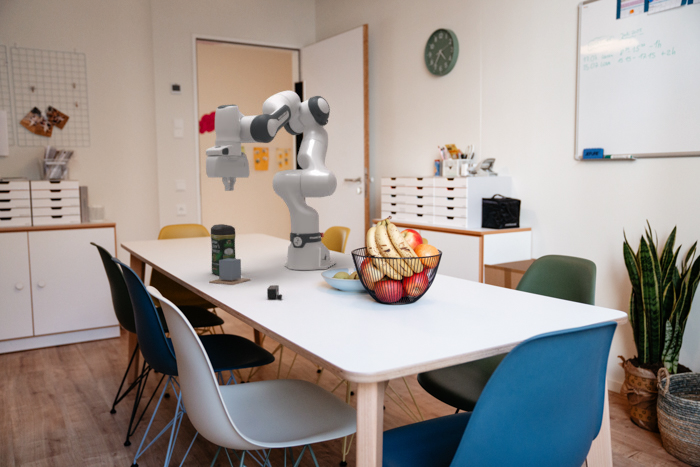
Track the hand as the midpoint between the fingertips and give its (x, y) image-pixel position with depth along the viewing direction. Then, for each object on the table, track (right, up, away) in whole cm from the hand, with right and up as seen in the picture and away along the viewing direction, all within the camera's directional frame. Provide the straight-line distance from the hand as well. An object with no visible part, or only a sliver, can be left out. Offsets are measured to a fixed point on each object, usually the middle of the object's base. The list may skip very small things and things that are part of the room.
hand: (229, 190), depth 202 cm
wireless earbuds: (+20, -35, -30) cm, 50 cm away
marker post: (+1, -32, -4) cm, 32 cm away
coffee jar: (-5, -30, +12) cm, 33 cm away
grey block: (+1, -31, -4) cm, 31 cm away
